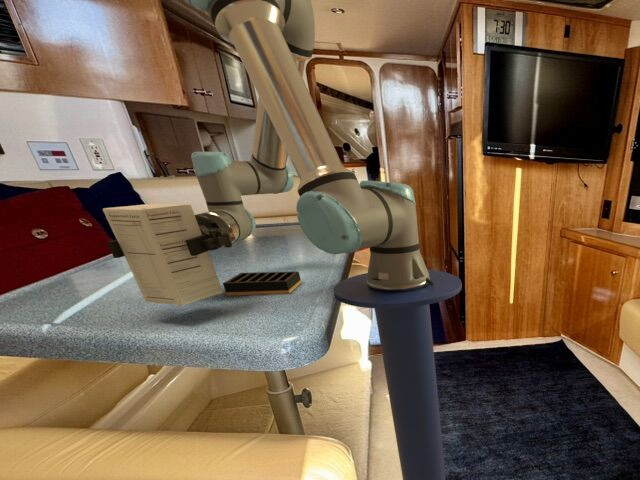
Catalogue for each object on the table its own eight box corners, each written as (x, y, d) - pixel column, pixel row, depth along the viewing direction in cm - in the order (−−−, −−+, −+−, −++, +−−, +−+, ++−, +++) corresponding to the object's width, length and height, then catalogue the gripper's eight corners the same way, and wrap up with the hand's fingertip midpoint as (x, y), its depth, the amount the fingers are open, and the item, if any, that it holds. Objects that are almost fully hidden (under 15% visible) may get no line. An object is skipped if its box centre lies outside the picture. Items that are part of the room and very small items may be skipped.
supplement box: (225, 292, 82) (193, 203, 74) (182, 306, 74) (141, 208, 66) (188, 289, 84) (154, 202, 76) (143, 302, 76) (99, 207, 68)
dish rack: (301, 282, 104) (298, 271, 103) (289, 293, 96) (286, 281, 94) (244, 284, 102) (240, 272, 101) (226, 295, 94) (222, 283, 92)
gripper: (273, 246, 93) (231, 268, 74) (160, 249, 90) (87, 272, 71) (264, 211, 89) (217, 225, 71) (145, 213, 86) (64, 228, 68)
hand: (151, 249), depth 71 cm, fingers closed on supplement box, 12 cm apart
